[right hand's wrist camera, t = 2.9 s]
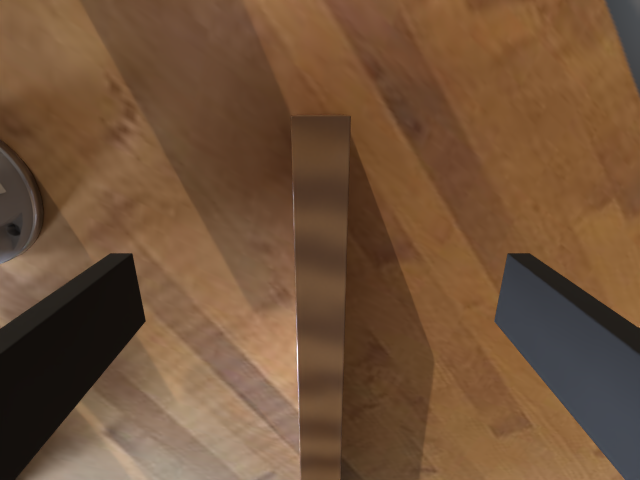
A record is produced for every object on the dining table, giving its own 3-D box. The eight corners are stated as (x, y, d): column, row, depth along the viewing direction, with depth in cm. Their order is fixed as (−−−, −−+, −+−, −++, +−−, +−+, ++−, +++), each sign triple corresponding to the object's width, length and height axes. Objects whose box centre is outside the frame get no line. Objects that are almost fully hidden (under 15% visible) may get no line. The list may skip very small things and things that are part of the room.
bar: (297, 114, 35) (290, 115, 27) (344, 114, 35) (350, 115, 27) (305, 529, 56) (303, 594, 48) (334, 529, 56) (337, 595, 48)
